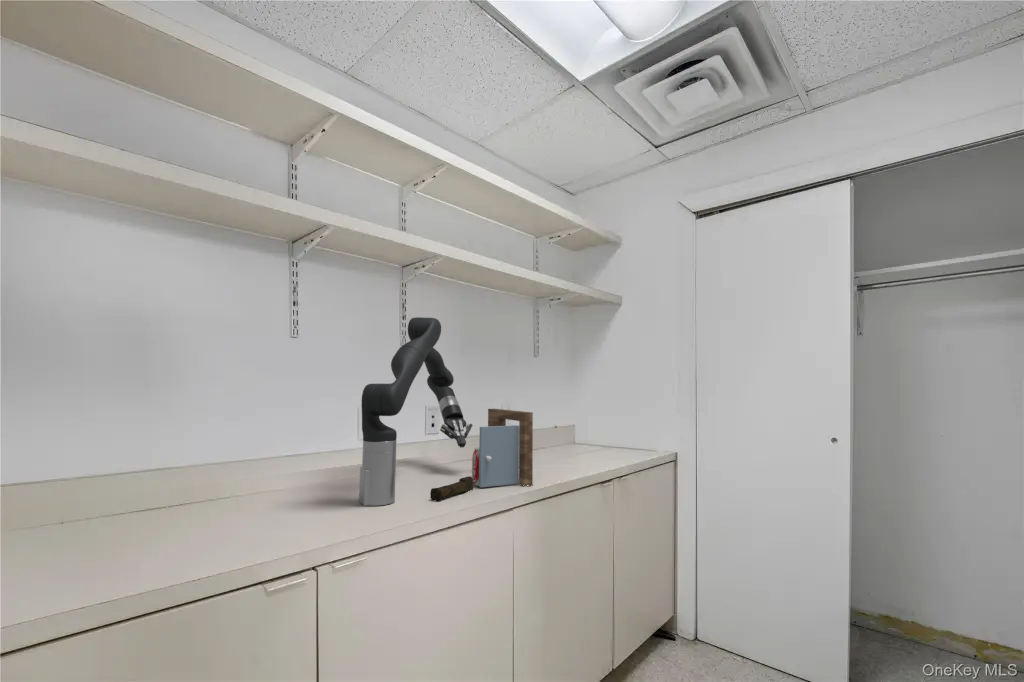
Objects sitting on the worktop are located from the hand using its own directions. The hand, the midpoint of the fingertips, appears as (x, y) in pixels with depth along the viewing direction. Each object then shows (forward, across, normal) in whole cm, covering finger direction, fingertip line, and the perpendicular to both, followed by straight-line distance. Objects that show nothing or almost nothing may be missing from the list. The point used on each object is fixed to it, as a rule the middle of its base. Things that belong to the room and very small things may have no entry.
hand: (462, 446), depth 179 cm
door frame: (+16, +12, -1) cm, 20 cm away
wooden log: (+26, -14, -10) cm, 31 cm away
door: (+23, +4, -8) cm, 25 cm away
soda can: (+20, 0, -4) cm, 20 cm away
